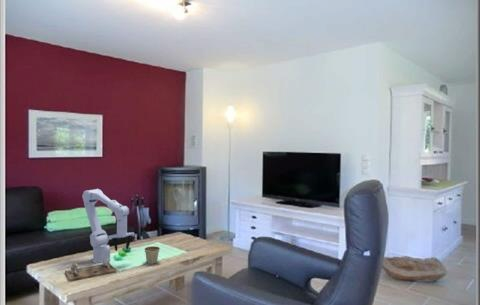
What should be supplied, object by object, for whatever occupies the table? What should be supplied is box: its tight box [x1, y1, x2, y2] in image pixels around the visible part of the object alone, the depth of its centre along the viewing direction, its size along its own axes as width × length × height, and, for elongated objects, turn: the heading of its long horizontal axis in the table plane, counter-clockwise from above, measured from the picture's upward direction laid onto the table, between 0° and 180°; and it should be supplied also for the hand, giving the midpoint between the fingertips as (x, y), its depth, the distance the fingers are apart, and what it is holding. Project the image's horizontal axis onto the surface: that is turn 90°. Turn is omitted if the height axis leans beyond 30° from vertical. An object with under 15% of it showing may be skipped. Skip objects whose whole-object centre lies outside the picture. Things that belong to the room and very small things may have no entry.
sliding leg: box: [101, 258, 111, 268], centre depth 202 cm, size 3×8×3 cm, turn 35°
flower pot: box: [143, 246, 161, 265], centre depth 214 cm, size 9×9×9 cm
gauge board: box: [64, 263, 117, 282], centre depth 196 cm, size 24×14×6 cm, turn 125°
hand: (121, 249), depth 208 cm, fingers open, 6 cm apart
